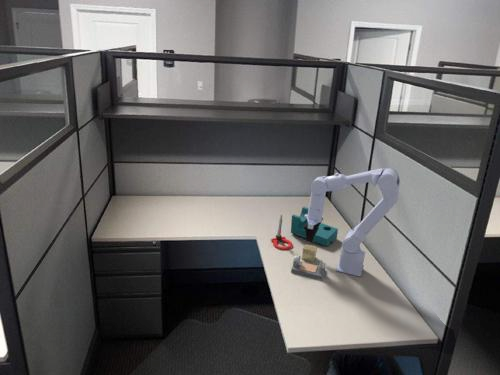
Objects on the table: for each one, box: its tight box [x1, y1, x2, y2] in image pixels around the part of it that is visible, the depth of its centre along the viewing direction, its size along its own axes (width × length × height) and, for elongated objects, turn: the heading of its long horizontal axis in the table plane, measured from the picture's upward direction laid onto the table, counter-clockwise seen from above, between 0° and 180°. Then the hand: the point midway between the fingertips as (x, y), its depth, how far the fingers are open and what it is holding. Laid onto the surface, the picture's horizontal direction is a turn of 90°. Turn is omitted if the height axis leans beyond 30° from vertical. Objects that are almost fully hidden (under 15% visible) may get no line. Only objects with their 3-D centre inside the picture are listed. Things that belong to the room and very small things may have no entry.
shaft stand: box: [290, 254, 327, 281], centre depth 157 cm, size 12×7×6 cm, turn 70°
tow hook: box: [270, 214, 294, 251], centre depth 174 cm, size 8×13×9 cm
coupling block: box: [301, 244, 318, 263], centre depth 167 cm, size 5×4×5 cm
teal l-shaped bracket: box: [290, 206, 339, 247], centre depth 184 cm, size 18×11×10 cm, turn 54°
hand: (311, 237), depth 164 cm, fingers open, 7 cm apart
